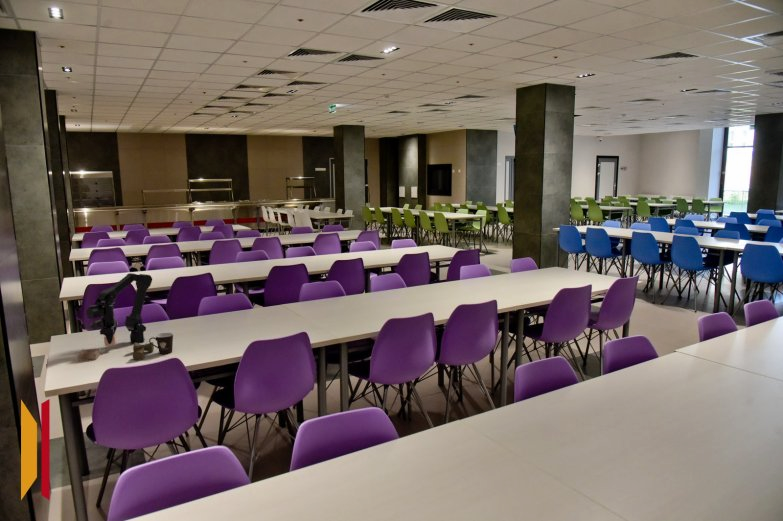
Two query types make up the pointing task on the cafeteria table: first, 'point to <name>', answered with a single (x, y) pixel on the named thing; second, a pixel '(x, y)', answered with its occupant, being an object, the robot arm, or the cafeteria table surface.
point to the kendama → (141, 350)
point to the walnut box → (88, 354)
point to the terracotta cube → (111, 342)
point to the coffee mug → (164, 342)
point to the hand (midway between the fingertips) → (110, 342)
